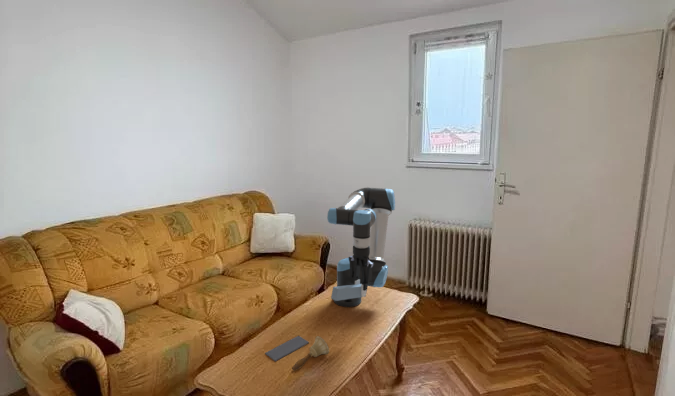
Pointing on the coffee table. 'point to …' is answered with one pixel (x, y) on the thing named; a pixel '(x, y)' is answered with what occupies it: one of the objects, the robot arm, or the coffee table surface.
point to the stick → (346, 292)
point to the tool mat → (286, 348)
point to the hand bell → (313, 352)
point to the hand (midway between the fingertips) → (360, 294)
